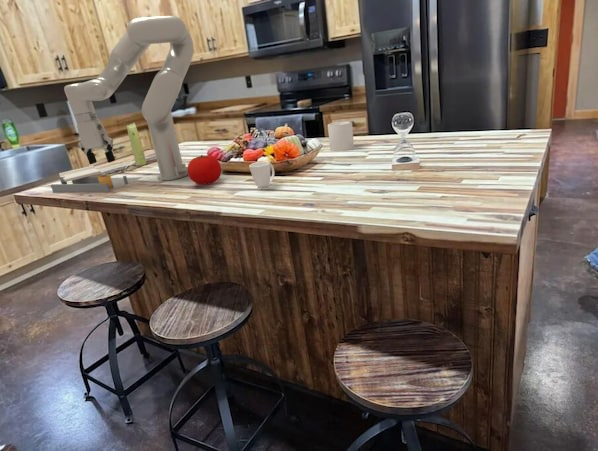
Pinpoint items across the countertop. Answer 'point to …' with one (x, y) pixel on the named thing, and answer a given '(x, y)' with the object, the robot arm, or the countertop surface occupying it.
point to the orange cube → (106, 180)
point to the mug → (341, 136)
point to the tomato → (204, 169)
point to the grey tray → (91, 185)
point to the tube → (136, 145)
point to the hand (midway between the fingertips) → (102, 162)
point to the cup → (262, 174)
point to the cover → (78, 174)
